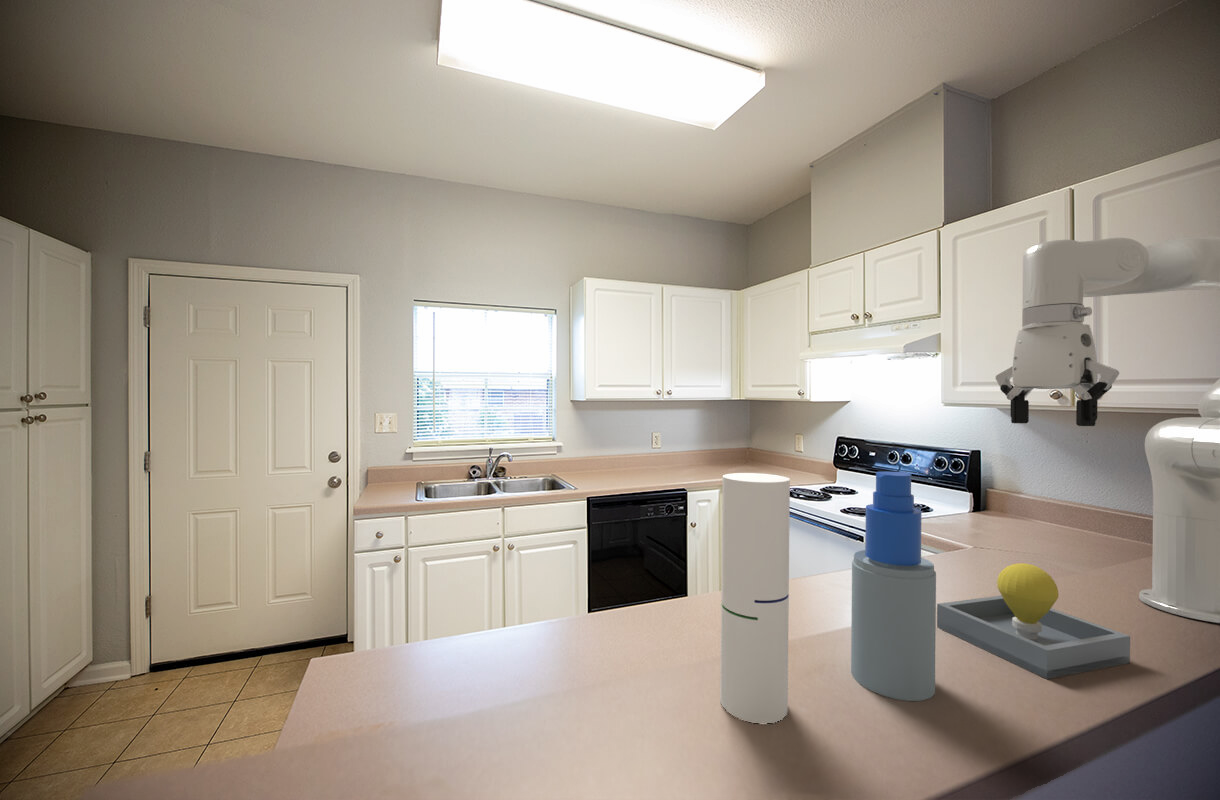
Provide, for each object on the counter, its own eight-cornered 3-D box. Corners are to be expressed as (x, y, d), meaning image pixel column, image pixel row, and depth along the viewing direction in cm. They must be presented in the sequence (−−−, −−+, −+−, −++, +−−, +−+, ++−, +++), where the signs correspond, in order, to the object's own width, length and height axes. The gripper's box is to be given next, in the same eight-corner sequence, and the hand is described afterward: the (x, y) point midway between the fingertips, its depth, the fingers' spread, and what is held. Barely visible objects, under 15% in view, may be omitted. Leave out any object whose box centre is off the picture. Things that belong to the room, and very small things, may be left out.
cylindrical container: (796, 725, 53) (799, 482, 53) (727, 723, 53) (730, 481, 53) (776, 687, 60) (778, 473, 60) (714, 685, 60) (717, 472, 61)
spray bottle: (910, 662, 66) (912, 468, 66) (952, 703, 57) (954, 478, 58) (839, 659, 67) (841, 467, 67) (869, 699, 58) (871, 477, 58)
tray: (1010, 616, 81) (1011, 594, 81) (1129, 662, 67) (1130, 635, 67) (936, 627, 77) (937, 603, 77) (1047, 679, 63) (1047, 650, 63)
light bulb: (986, 624, 76) (986, 556, 76) (1035, 626, 75) (1035, 558, 75) (1017, 645, 69) (1017, 571, 69) (1071, 648, 69) (1071, 573, 69)
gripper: (1134, 312, 77) (1133, 427, 77) (1013, 327, 93) (1013, 422, 93) (1099, 309, 75) (1098, 427, 74) (982, 325, 91) (981, 422, 91)
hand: (1051, 424), depth 84 cm, fingers open, 9 cm apart
